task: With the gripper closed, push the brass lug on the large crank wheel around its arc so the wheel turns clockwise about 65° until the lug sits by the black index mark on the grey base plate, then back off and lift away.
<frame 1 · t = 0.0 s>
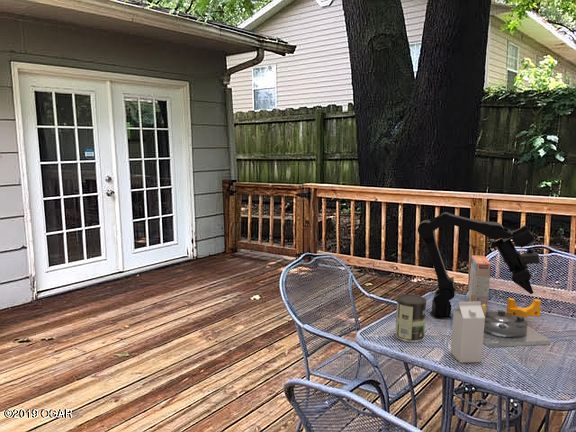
hand: (530, 289, 177), 15 cm above the table, tool tilted 35°, fingers open, 9 cm apart
crank wheel: (502, 315, 174), point 6 cm above the table, hinge at 0.0°
base plate: (500, 332, 175), on the table
pipe clamp: (523, 316, 192), on the table
coffee can: (409, 336, 171), on the table
milk carton: (465, 358, 154), on the table
cracker box: (477, 307, 201), on the table
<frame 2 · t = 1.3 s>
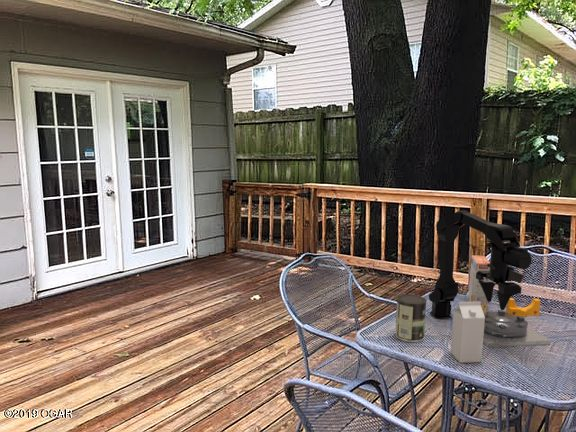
hand: (495, 305, 165), 13 cm above the table, tool pointing down, fingers open, 8 cm apart
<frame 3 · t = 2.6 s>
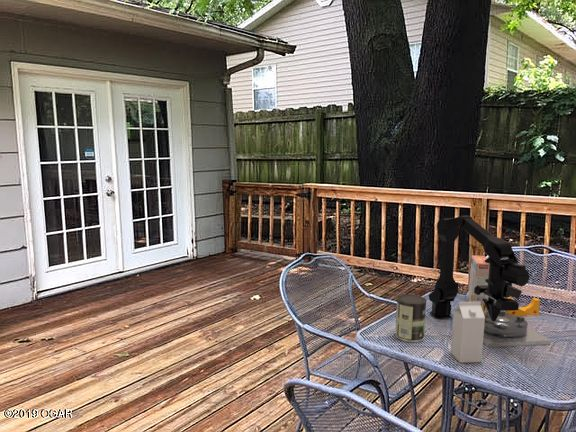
hand: (493, 320, 166), 8 cm above the table, tool pointing down, fingers closed
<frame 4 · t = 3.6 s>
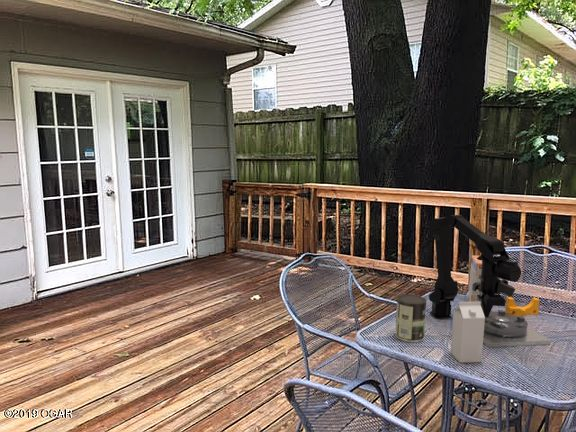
hand: (486, 316, 170), 7 cm above the table, tool pointing down, fingers closed
crank wheel: (502, 315, 174), point 6 cm above the table, hinge at -1.1°, touching gripper
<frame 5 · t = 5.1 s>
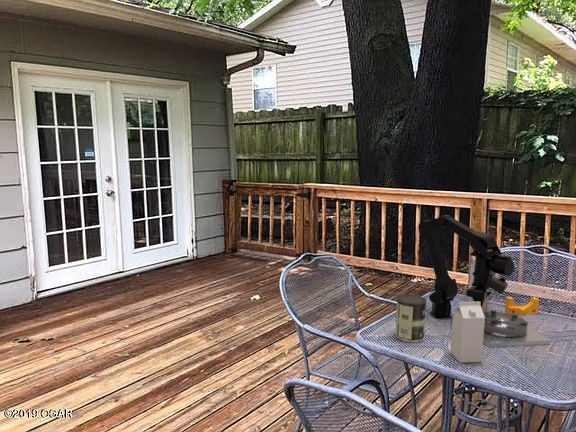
hand: (479, 311, 175), 8 cm above the table, tool pointing down, fingers closed
crank wheel: (502, 315, 174), point 6 cm above the table, hinge at -37.9°, touching gripper
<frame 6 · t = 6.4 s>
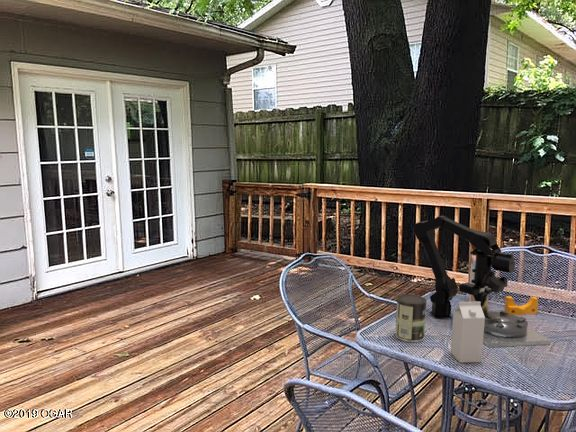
hand: (480, 307, 178), 8 cm above the table, tool pointing down, fingers closed
crank wheel: (502, 315, 174), point 6 cm above the table, hinge at -66.1°, touching gripper
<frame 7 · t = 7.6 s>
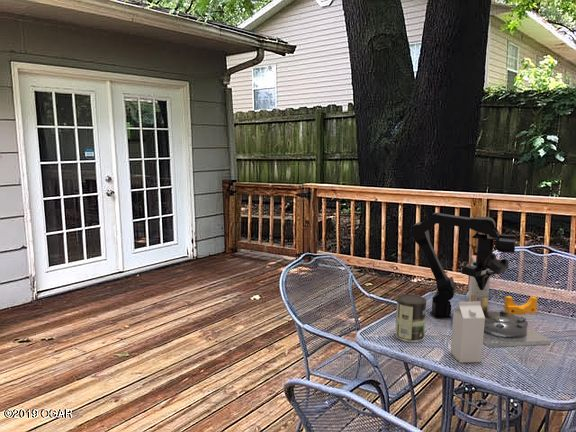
hand: (481, 290, 182), 13 cm above the table, tool pointing down, fingers closed
crank wheel: (502, 315, 174), point 6 cm above the table, hinge at -66.1°
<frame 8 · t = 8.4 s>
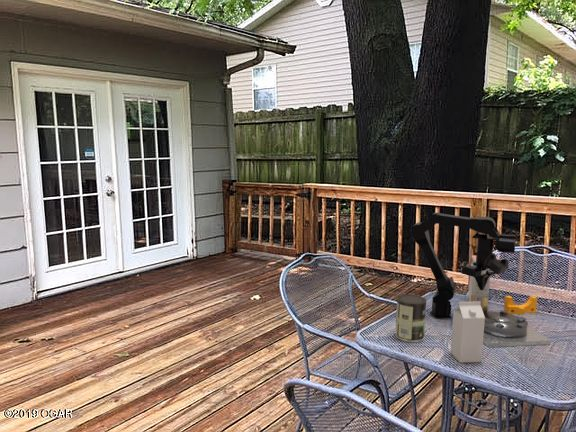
hand: (481, 290, 182), 13 cm above the table, tool pointing down, fingers closed
at the end: crank wheel at -66° (first picture: +0°) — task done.
